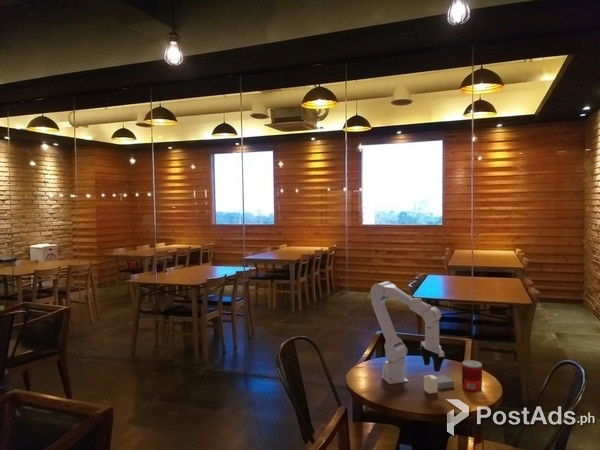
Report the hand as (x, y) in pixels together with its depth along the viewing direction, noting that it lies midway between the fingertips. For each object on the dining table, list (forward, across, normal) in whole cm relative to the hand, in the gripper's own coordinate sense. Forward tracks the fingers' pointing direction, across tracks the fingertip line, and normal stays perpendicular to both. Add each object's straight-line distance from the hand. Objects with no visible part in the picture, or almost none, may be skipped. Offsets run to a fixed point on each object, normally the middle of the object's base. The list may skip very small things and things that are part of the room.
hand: (431, 368), depth 186 cm
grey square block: (+10, +3, -7) cm, 12 cm away
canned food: (+10, -4, -17) cm, 20 cm away
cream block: (+10, -1, +1) cm, 10 cm away
